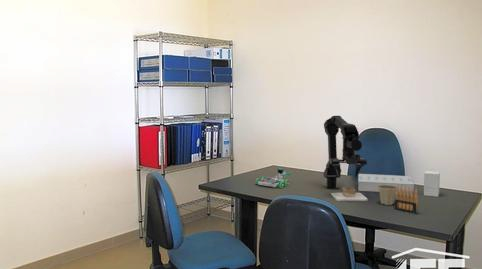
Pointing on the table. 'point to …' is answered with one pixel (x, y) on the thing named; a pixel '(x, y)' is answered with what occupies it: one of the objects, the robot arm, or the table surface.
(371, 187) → the warehouse
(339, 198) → the jaw base
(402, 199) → the ammunition clip
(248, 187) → the table surface
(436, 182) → the supplement box
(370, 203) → the table surface
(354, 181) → the table surface
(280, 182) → the robot kit
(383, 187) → the flower pot
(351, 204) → the table surface
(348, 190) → the jaw block
